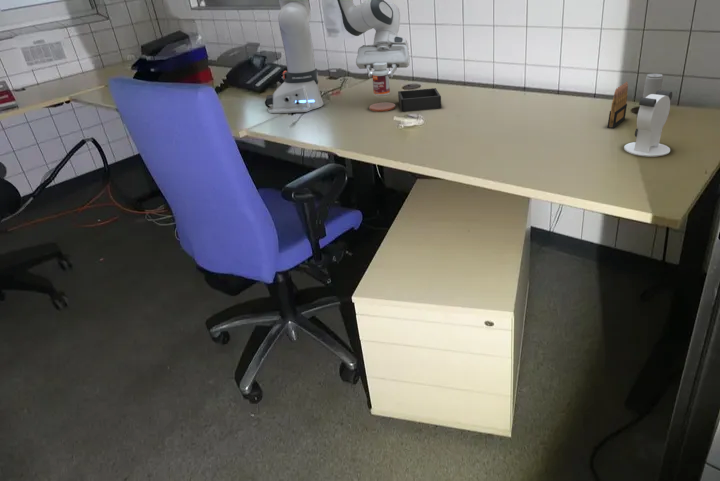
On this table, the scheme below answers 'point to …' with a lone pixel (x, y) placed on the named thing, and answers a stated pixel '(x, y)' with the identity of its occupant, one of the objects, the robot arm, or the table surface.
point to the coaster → (382, 107)
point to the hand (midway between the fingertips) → (380, 76)
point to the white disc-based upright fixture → (651, 125)
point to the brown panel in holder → (618, 106)
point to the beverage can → (652, 84)
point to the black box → (419, 99)
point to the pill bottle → (380, 79)
